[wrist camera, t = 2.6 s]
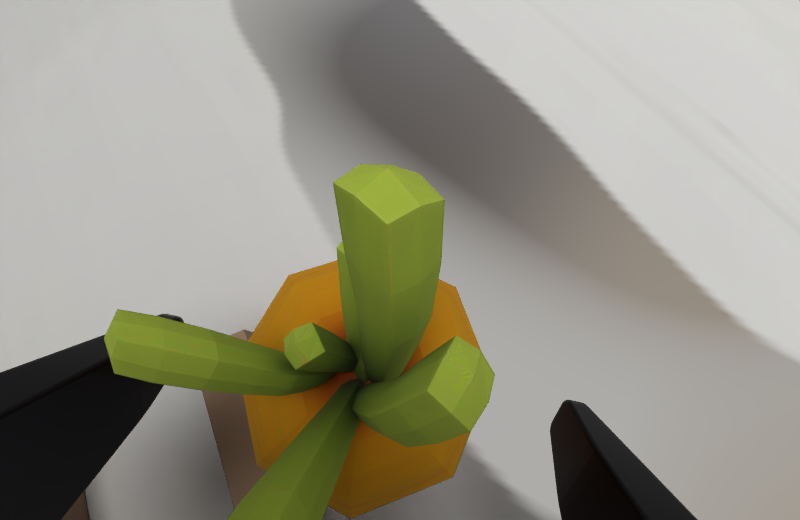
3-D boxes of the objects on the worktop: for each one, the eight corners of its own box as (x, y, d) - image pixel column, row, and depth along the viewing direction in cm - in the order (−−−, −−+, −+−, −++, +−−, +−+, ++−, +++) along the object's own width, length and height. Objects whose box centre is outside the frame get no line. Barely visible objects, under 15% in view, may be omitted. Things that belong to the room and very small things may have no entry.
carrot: (371, 455, 16) (194, 1393, 1) (303, 367, 17) (-220, 321, 2) (452, 377, 17) (846, 393, 2) (383, 298, 18) (372, -18, 3)
